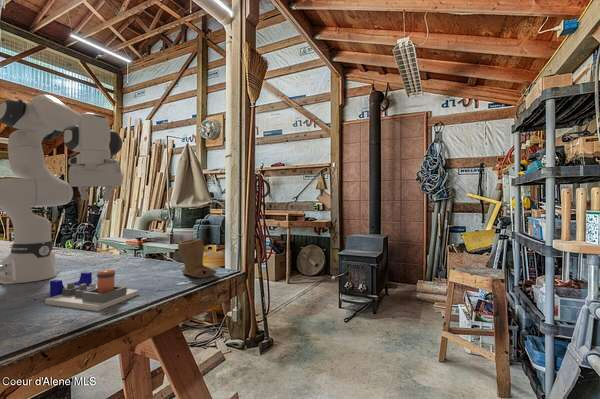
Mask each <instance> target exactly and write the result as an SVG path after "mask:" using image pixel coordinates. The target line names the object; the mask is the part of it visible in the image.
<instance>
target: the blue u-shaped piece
mask: <svg viewBox="0 0 600 399" xmlns="http://www.w3.org/2000/svg"><path fill="white" fill-rule="evenodd" d="M92 274H93V272H90V271H83V272H80V275H79V276H80V277H79V279H78V280H76V281H74V282H75V286H79V285H81V284H87V286H89V284H92V283H93V281H92V279H93V277H92V276H93V275H92ZM63 283H64V282H63V280H61V279H52V280H49V298H50V297H54V296H57V295H60V294H62V289H64V288H66V287H65V286H64V284H63Z"/></svg>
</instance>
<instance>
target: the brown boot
mask: <svg viewBox="0 0 600 399" xmlns="http://www.w3.org/2000/svg"><path fill="white" fill-rule="evenodd" d="M203 242H204V241H203V240H202V239H201V238H192V239H187V240H182V241H180V242H178V244H177V245H178V247H177V248H178V249H177V250H178V253H179V255H180V257H181V259H182V261H183V264H184V268H183V269H181V273H183V274H185V275H188V276H191V277H194V278H200V279H202V278H203V279H204V278H208V277H209V278H210V277H211V276H213V275H216V274H217V270H216V269H213V268H211V267H207V266H205V265H204V251H205V250H204V243H203Z"/></svg>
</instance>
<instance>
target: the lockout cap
mask: <svg viewBox="0 0 600 399" xmlns="http://www.w3.org/2000/svg"><path fill="white" fill-rule="evenodd" d="M96 276H97V282H96V286H97V293H103V294H104V293H107V292H110V291H113V290H114V286H115V276H116V270H115V269H102V270H98V271H97V273H96Z"/></svg>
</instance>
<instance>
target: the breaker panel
mask: <svg viewBox="0 0 600 399" xmlns="http://www.w3.org/2000/svg"><path fill="white" fill-rule="evenodd" d="M75 282H76V281H73V282H69V283H66V287H65V288H64V289H62V294H60V295H57V296H54V297H50V296H49V297H48V298H45V299H44V305H49V306H55V307H56V306H58V307H64V308H71V309H80V310H81V309H82V310H86V311H87V310H88V311H95V312H99V311H101V310H103V309H107V308H108V307H112V306H114V305H116V304H119V303H122V302H123V301H127V300H128V299H131V298H134V297H136V296H139V290H138V289H133V288H132V289H131V288H128V287H127V286H124V285H121V284H114V290H113V291H110V292H107V293H104V294H103V293H97V282H96V283H95V282H92V284H89V286H87V284H81V285H79V286H75Z"/></svg>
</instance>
